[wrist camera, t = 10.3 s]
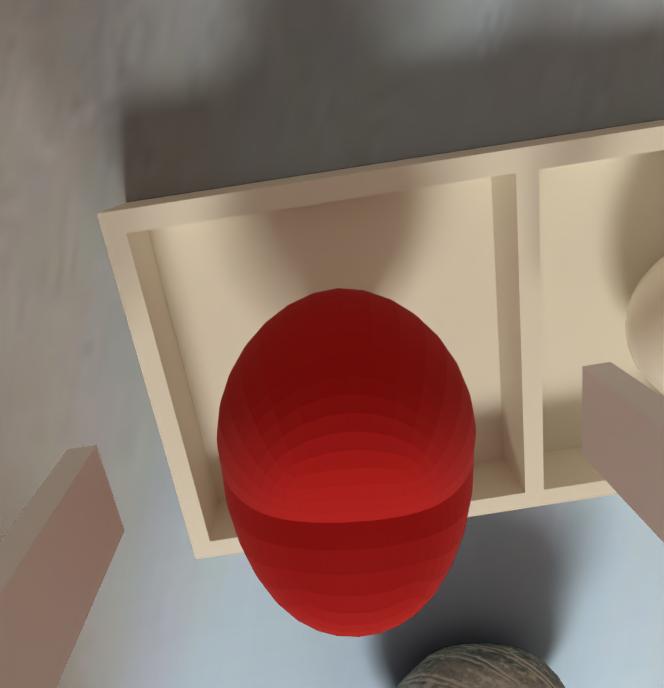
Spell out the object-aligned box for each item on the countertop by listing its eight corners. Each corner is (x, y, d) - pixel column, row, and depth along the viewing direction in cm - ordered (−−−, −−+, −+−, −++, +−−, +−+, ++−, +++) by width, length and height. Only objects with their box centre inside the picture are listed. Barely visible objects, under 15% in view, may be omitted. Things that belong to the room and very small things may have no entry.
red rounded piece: (230, 235, 19) (152, 359, 10) (433, 223, 19) (537, 337, 10) (258, 460, 23) (220, 698, 14) (429, 450, 23) (502, 681, 14)
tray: (207, 510, 24) (195, 559, 21) (125, 202, 20) (96, 213, 17) (807, 417, 24) (874, 454, 21) (863, 88, 20) (956, 80, 17)
